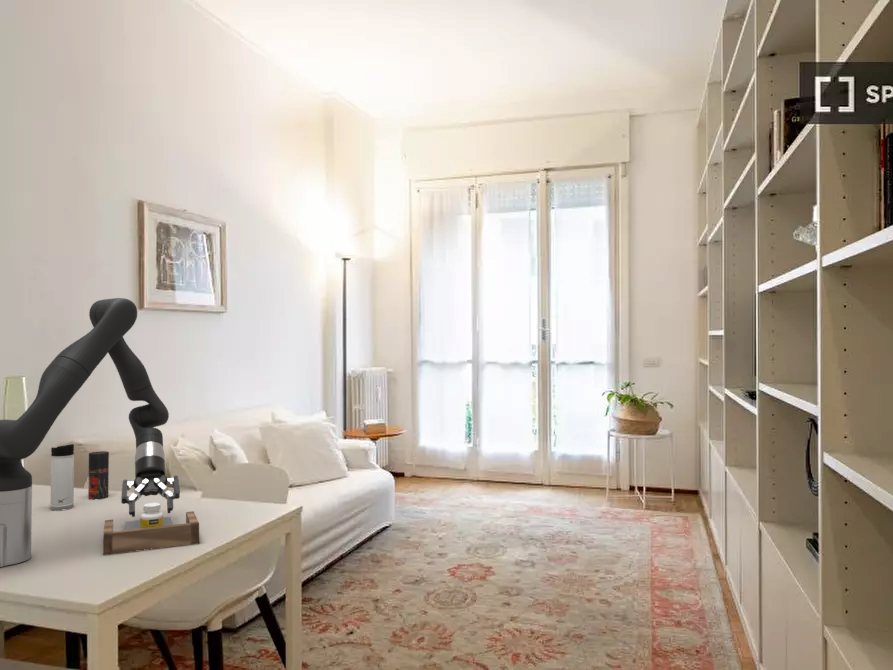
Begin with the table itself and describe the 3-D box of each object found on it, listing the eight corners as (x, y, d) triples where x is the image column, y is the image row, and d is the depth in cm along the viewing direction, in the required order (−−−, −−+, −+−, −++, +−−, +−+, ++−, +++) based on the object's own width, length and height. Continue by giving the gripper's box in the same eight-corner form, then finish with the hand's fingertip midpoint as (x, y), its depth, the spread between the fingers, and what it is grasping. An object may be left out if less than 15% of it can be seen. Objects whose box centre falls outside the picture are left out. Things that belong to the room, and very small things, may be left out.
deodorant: (112, 497, 224) (112, 452, 224) (94, 500, 219) (95, 454, 219) (102, 494, 227) (102, 450, 227) (84, 498, 222) (85, 453, 222)
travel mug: (64, 511, 205) (64, 446, 205) (45, 510, 206) (46, 445, 206) (79, 506, 211) (79, 443, 211) (61, 505, 212) (61, 442, 212)
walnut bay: (104, 539, 175) (104, 520, 175) (193, 529, 185) (193, 511, 185) (103, 555, 162) (103, 534, 162) (199, 543, 172) (199, 523, 172)
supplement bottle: (148, 546, 169) (148, 507, 169) (135, 543, 172) (135, 505, 172) (167, 541, 174) (167, 503, 174) (154, 538, 176) (154, 501, 177)
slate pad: (125, 523, 191) (125, 521, 191) (170, 518, 196) (170, 516, 196) (125, 534, 180) (125, 532, 180) (173, 528, 185) (173, 527, 185)
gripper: (121, 456, 179) (121, 508, 168) (178, 452, 185) (181, 502, 175) (121, 472, 184) (121, 524, 173) (176, 468, 190) (180, 518, 179)
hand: (151, 513), depth 174 cm, fingers open, 8 cm apart
